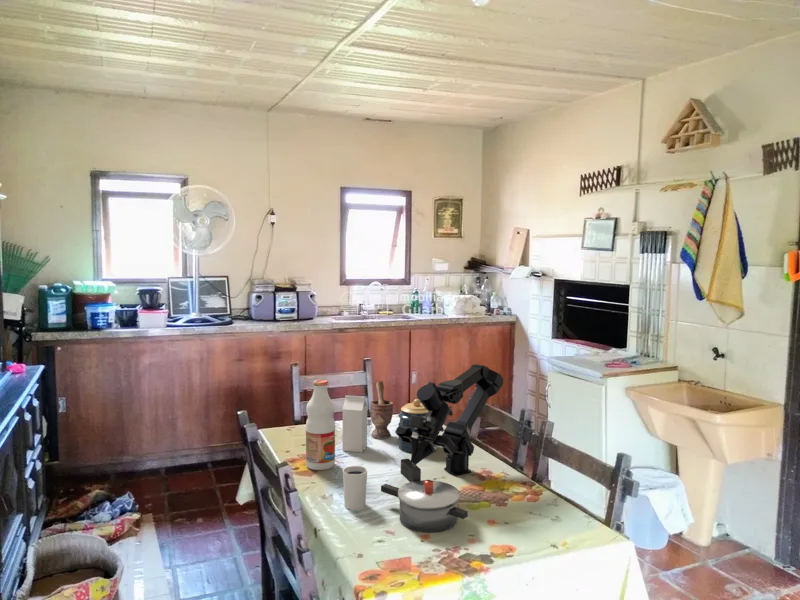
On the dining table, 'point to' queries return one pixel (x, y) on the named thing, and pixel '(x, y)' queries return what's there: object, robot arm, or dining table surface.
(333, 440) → the fruit juice
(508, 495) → the dining table surface
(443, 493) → the lid
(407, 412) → the canister
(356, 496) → the white cup
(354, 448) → the milk carton
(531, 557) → the dining table surface
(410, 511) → the pot
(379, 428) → the mortar and pestle
